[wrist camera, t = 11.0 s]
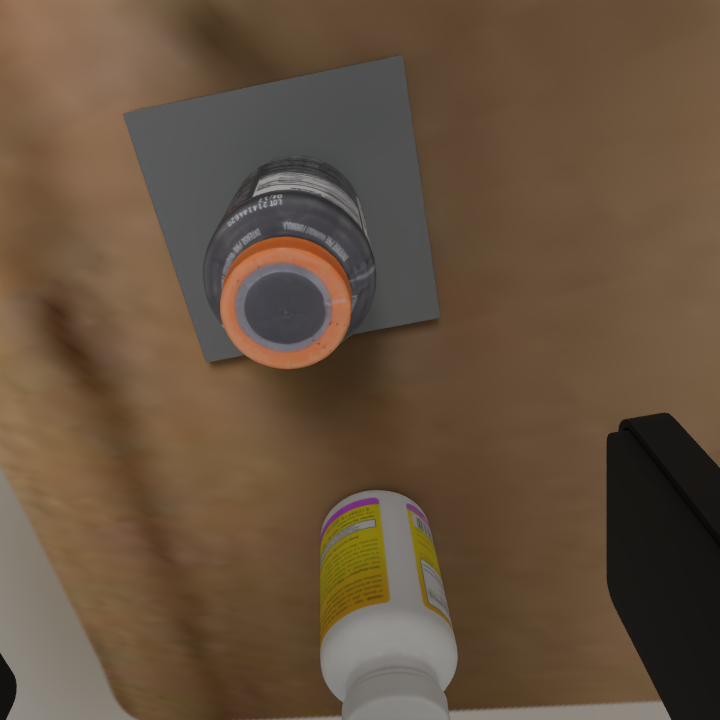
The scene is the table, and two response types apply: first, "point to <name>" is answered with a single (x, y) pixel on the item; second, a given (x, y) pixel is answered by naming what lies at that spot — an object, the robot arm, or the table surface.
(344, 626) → the supplement bottle
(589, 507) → the table surface
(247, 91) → the plate
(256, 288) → the pill bottle
